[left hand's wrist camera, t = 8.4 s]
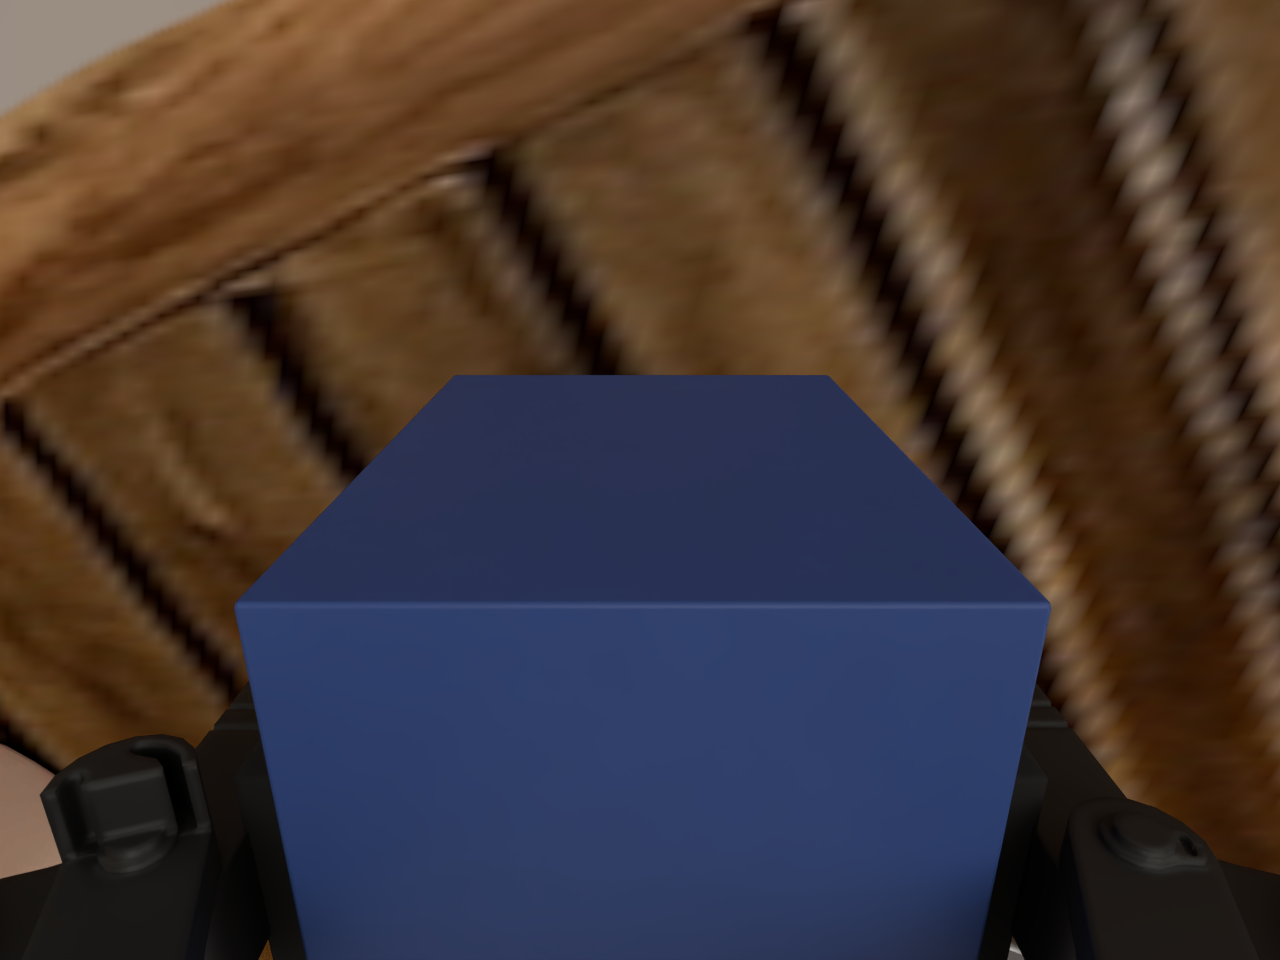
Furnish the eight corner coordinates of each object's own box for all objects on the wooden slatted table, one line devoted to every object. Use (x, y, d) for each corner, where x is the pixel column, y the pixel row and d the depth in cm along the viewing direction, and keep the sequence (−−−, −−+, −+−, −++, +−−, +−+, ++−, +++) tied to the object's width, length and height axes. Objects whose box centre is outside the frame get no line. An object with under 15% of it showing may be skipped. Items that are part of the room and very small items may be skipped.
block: (453, 374, 14) (230, 602, 6) (829, 374, 14) (1056, 602, 6) (483, 721, 16) (349, 1179, 9) (799, 722, 16) (934, 1180, 9)
